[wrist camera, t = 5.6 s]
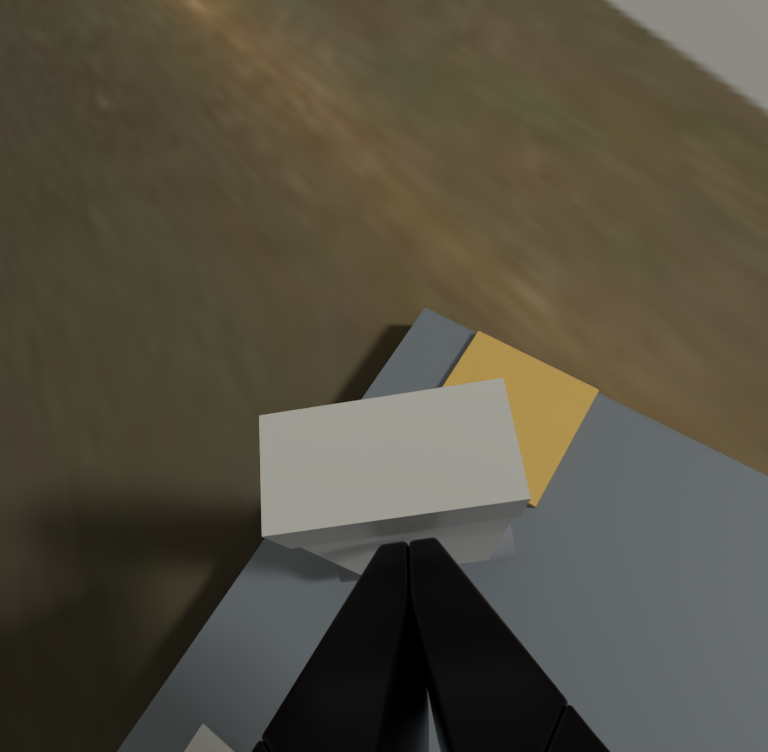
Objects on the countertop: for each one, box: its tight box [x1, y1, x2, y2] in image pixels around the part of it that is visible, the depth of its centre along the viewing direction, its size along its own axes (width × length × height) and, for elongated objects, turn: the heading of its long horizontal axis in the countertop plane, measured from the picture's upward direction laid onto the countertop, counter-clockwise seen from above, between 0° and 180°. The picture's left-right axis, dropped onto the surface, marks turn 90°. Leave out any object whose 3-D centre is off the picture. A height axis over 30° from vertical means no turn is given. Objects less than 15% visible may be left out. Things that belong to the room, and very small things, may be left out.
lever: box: [259, 378, 531, 583], centre depth 11 cm, size 2×4×9 cm, turn 96°
